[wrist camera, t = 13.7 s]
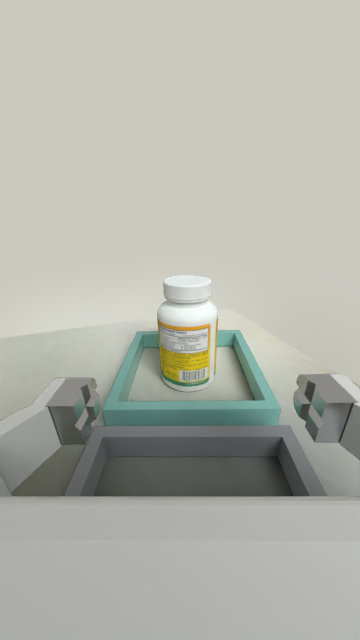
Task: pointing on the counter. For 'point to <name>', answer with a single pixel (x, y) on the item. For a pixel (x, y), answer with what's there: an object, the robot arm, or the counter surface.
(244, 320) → the counter surface
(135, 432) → the bin
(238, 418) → the bin
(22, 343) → the counter surface
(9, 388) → the counter surface
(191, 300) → the supplement bottle
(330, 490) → the counter surface
